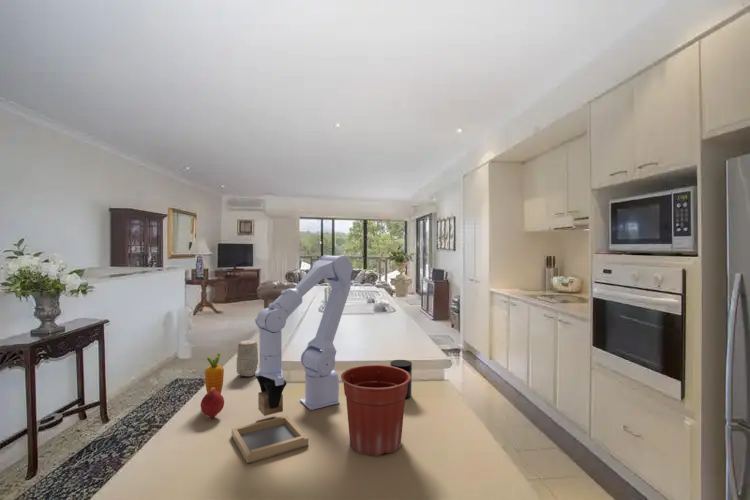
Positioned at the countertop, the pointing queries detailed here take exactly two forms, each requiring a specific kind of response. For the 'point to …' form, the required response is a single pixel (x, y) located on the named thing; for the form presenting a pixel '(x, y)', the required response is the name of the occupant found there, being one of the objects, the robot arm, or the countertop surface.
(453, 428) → the countertop surface
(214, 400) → the onion
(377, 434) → the flower pot
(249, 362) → the carving
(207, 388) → the carrot
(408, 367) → the supplement container
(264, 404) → the walnut block
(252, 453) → the slate tray
